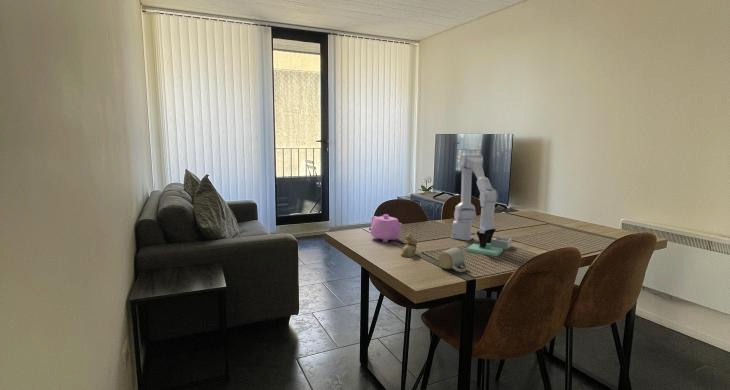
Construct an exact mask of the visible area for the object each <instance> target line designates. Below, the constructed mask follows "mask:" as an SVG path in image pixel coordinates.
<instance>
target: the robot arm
mask: <svg viewBox="0 0 730 390" xmlns="http://www.w3.org/2000/svg"><path fill="white" fill-rule="evenodd" d="M458 162H459V171H460V170H461V184H460V185H461V186H460V188H461V189H460V202H459V203H458V204H457V205H455V207H454V208H455V209H454V212H453V217H454V219H455V220H453V221H452V224H451V234H450V235H451V236H450V238H451V239H456V240H462V241H468V242H469V241H470V240H472V239H474V236H472V224H473V223H474V220H475V219H476V218H477V213H476V207H475V205H474V204H473V203H472V182H473V181H472V179H473V177H472V176H473V173H474V175H475V177H476V179H477V180H476V185H477V188H478V191H479V202H480V208H481V210H480V221H479V224H480V225H479V230H477V231H476V236H477V237H478V241H479V243H480V247H482V248H485V247H486V243H491V239H492V236H494V233H495V232H496V226H494V222H495V221H494V219H495V207H496V204H495V203H497V202H498V200H499V195H498V194H499V193H498V191H497V190H496V189H494V188H493V186H492V184H491V182H490V180H489V178H488V177H486V176H485V171H484V168H483V163H484V157H483V155H482V154H481V153H462V154H461V155H460V157H459V161H458Z"/></svg>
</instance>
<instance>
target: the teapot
mask: <svg viewBox="0 0 730 390" xmlns="http://www.w3.org/2000/svg"><path fill="white" fill-rule="evenodd" d="M402 225H403V223H402V222H399V219H398V218H396V217H393V216H390V215H389V214H387V213H385V214H383V215H380V216H376V215H373V216H372V217H371V224H370V234H371V237H374V240H375V241H378V240H382V242H383V243H388V242H389V240H391V241H397V239H398V238H400V236H401V227H402Z"/></svg>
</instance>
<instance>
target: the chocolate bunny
mask: <svg viewBox="0 0 730 390" xmlns="http://www.w3.org/2000/svg"><path fill="white" fill-rule="evenodd" d="M405 240H406V241H407V243H406V245H405V246H403V248H402V250H401V252H400V253H401V254H400V256H401V257H414V256H415V255H416V251H417V248H418V247H417V246H418V245H417V244H418V242H417V238H415V237H414V236H413V235H412V234H411V233H410V232H407V235H406V236H405Z"/></svg>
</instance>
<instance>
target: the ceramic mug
mask: <svg viewBox="0 0 730 390" xmlns="http://www.w3.org/2000/svg"><path fill="white" fill-rule="evenodd" d="M465 259H466V257H465V254H464V251H462V250H461V249H460V248H458V247H451V248H449V249H446V250H443V251H442V252H441V253H439V254H438V263H439V265H440V267H442V268H443V269H444V270H451V269H453V270H454V271H456V272H458V273H464V272H466V270H467V265H466V263H465ZM461 266H462V267H463V268H459V267H461Z"/></svg>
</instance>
